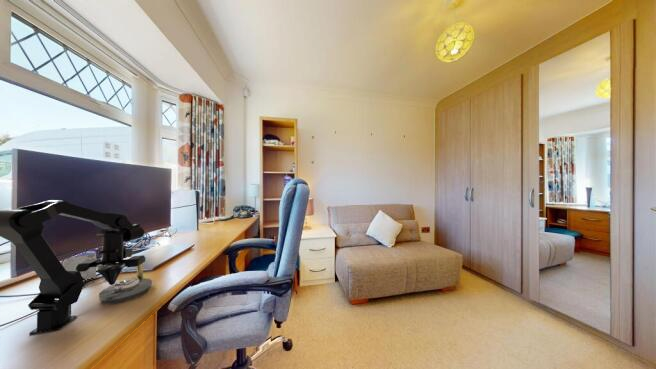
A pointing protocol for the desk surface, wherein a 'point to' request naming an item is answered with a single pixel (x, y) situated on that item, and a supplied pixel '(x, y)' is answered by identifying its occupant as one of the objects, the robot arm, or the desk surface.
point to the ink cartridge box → (74, 261)
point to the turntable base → (125, 299)
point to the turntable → (112, 295)
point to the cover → (126, 284)
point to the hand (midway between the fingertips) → (112, 284)
